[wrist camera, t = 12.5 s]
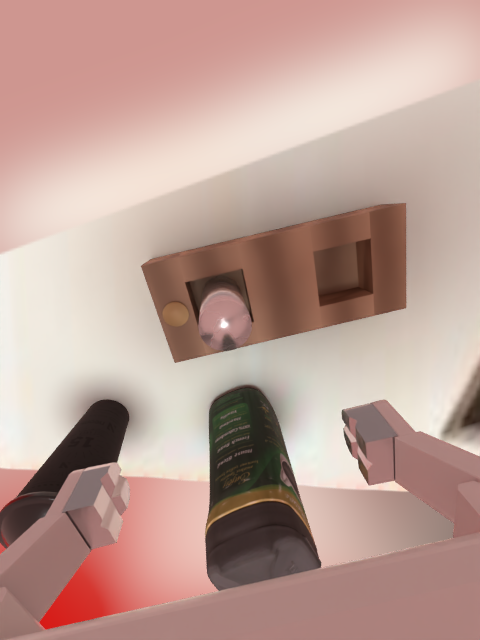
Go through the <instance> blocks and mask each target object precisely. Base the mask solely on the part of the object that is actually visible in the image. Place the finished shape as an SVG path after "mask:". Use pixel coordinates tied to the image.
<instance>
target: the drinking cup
mask: <svg viewBox="0 0 480 640" xmlns="http://www.w3.org/2000/svg"><path fill="white" fill-rule="evenodd" d="M128 421H129V414H128V411H127V410H126V408H125V407H124V406H123V405H122V404H120V403H118V402H116V401H112V400H101V401H98V402H96V403H94V404H93V405H92V406H91V407H90V408H89V410H88V411H87V412H86V413H85V414H84V416H83V417H82V418H81V419H80V420H79V422H78V423H77V424H76V425H75V427H74V428H73V429H72V430H71V431H70V433H69V434H68V435H67V436H66V437H65V439H64V440H63V441H62V442H61V444H60V445H59V446H58V447H57V448H56V450H55V451H54V452H53V453H52V454H51V456H50V457H49V458H48V459H47V461H46V462H45V463H44V464H43V465H42V467H41V468H40V469H39V470H38V471H37V473H36V474H35V475H34V476H33V478H32V479H31V480H30V481H29V482H28V484H27V485H26V486H25V487H24V489H23V490H22V491H21V492H20V493H19V495H18V496H17V497H16V498H15V499H14V500H12V501H10V502H9V503H8V504H7V505H5V506H4V507H3V509H2V510H1V511H0V543H1V544H2V545H3V546H4V547H5V548H6V549H7V548H8V547H9V546H10V545H11V544H12V543H13V542H15V541H16V540H17V539H18V538H19V537H20V536H21V535H22V534H23V533H24V532H25V531H27V530H28V529H29V528H30V527H31V526H32V525H33V524H34V523H35V522H36V521H38V520H39V519H40V518H43V517H45V516H46V514H47V512H48V510H49V509H50V507H51V505H52V503H53V502H54V500H55V498H56V496H57V495H58V493H59V491H60V489H61V488H62V486H63V484H64V482H65V481H66V479H67V477H68V475H69V474H70V473H72V472H73V471H76V470H81V469H86V468H89V467H94V466H99V465H104V464H109V463H113V462H114V463H117V461H118V457H119V454H120V450H121V446H122V443H123V439H124V435H125V432H126V428H127V425H128ZM91 550H92V549H91Z"/></svg>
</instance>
